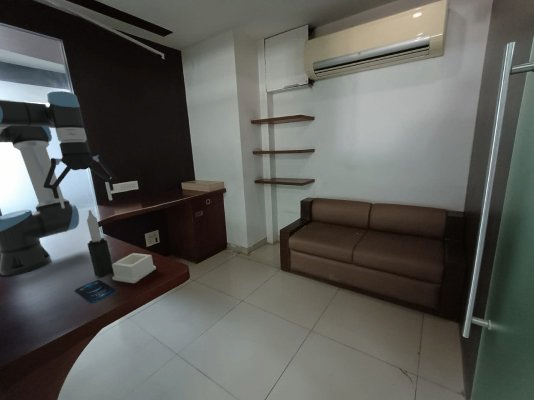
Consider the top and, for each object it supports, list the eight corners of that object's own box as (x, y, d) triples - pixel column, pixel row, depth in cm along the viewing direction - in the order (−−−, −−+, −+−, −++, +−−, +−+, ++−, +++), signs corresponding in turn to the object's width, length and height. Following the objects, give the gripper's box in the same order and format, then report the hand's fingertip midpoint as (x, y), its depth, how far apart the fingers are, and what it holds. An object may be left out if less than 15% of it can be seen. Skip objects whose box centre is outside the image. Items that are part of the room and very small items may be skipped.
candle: (100, 278, 86) (84, 212, 80) (94, 274, 88) (78, 211, 83) (115, 271, 90) (100, 208, 84) (108, 268, 93) (94, 207, 87)
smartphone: (99, 279, 85) (118, 290, 77) (99, 280, 85) (118, 292, 77) (73, 290, 79) (90, 304, 70) (73, 291, 79) (91, 305, 71)
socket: (113, 280, 84) (109, 264, 83) (136, 266, 93) (133, 252, 92) (134, 283, 81) (131, 267, 79) (156, 268, 90) (153, 254, 89)
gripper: (19, 142, 68) (39, 213, 72) (118, 140, 84) (130, 198, 88) (22, 144, 73) (40, 209, 78) (114, 141, 89) (125, 195, 94)
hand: (88, 203), depth 83 cm, fingers open, 13 cm apart
